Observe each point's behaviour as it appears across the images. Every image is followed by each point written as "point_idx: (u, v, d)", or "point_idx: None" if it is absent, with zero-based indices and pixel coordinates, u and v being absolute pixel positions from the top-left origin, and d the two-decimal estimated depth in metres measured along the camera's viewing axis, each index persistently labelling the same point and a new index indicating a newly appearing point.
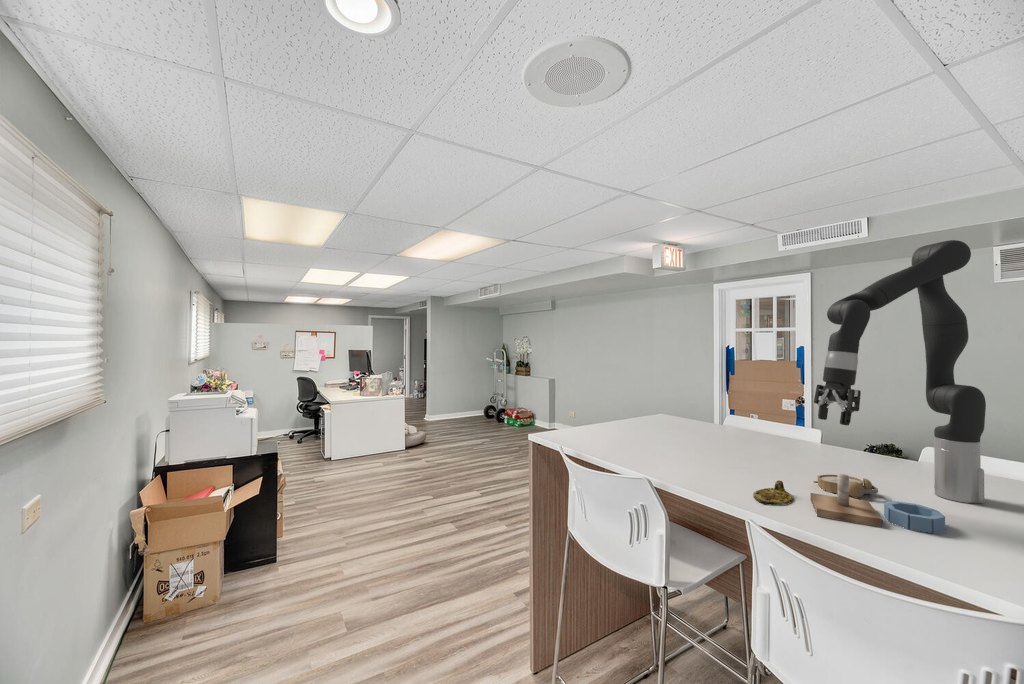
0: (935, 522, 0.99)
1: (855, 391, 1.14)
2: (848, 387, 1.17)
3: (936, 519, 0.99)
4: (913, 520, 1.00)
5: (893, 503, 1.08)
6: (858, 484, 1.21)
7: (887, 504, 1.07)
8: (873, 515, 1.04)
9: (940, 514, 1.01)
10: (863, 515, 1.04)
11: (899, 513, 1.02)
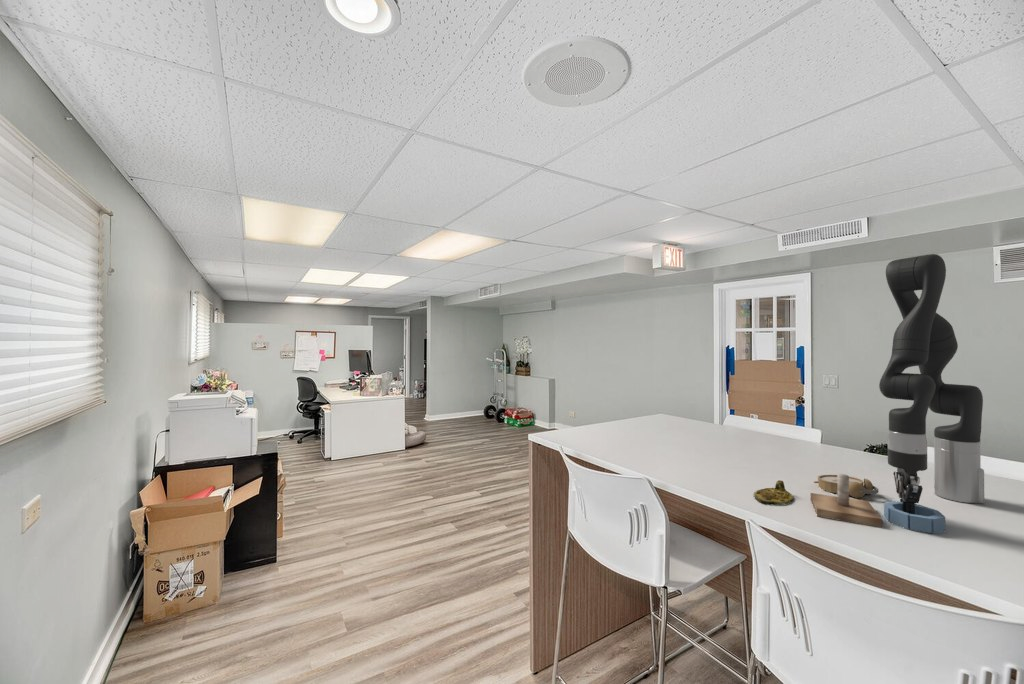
0: (935, 522, 0.98)
1: (914, 488, 1.02)
2: (912, 473, 1.04)
3: (936, 519, 0.99)
4: (913, 520, 1.00)
5: (893, 503, 1.08)
6: (859, 484, 1.21)
7: (887, 504, 1.07)
8: (873, 515, 1.04)
9: (940, 514, 1.01)
10: (863, 515, 1.04)
11: (899, 513, 1.02)
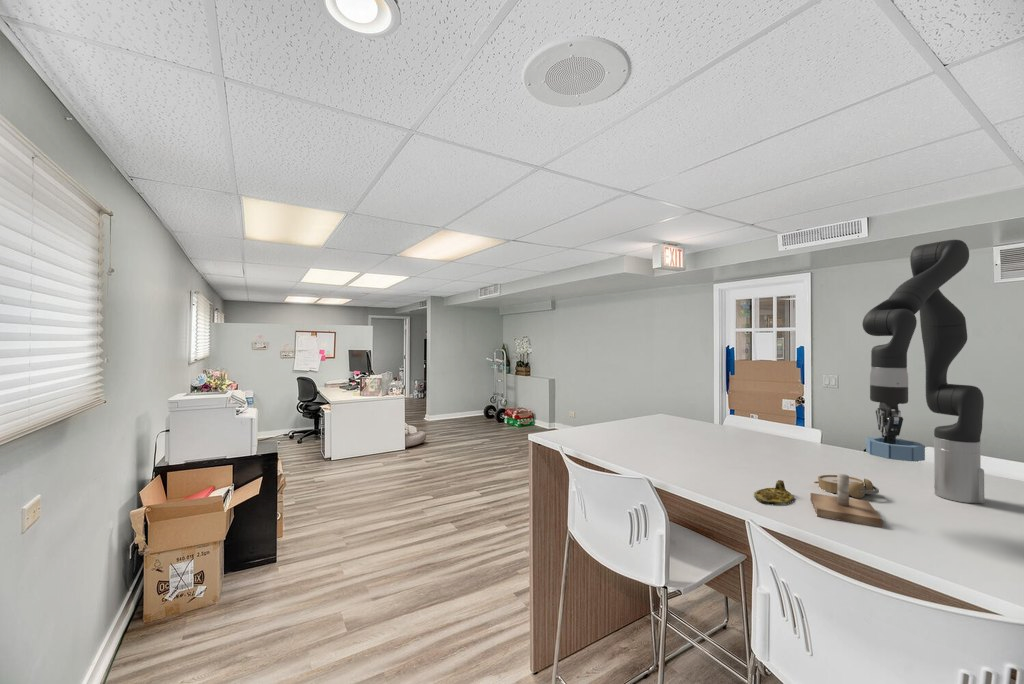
0: (915, 451, 1.00)
1: (895, 420, 1.04)
2: (894, 406, 1.06)
3: (916, 447, 1.00)
4: (894, 449, 1.01)
5: (875, 438, 1.09)
6: (859, 484, 1.21)
7: (869, 438, 1.09)
8: (873, 515, 1.04)
9: (920, 444, 1.02)
10: (863, 515, 1.04)
11: (880, 444, 1.04)
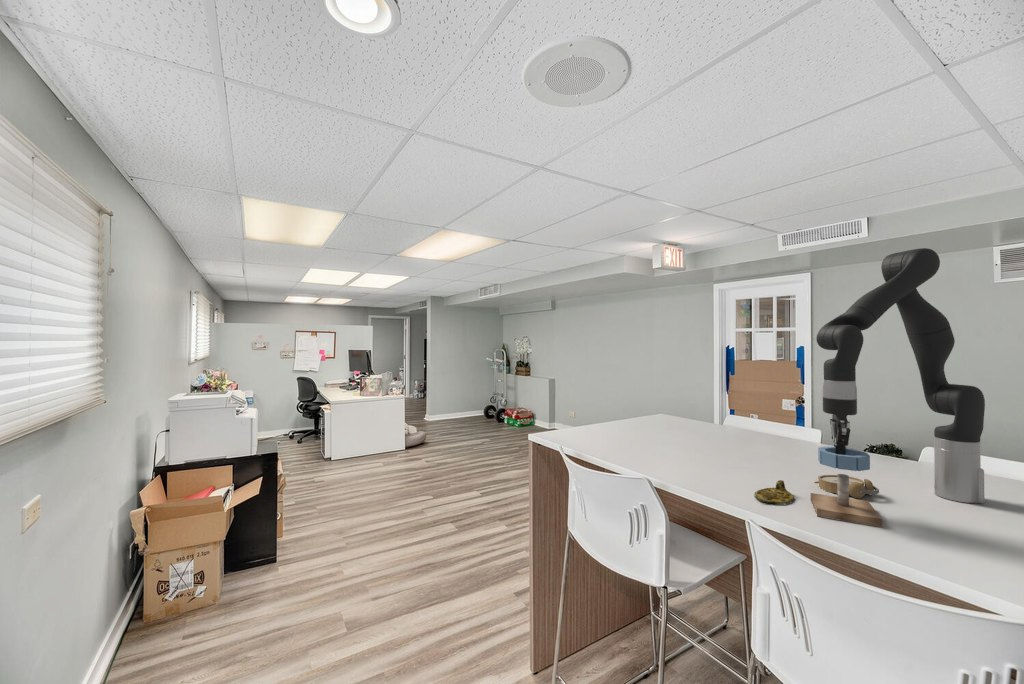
0: (859, 461, 1.05)
1: (843, 431, 1.09)
2: (843, 418, 1.11)
3: (861, 458, 1.06)
4: (840, 459, 1.07)
5: (826, 447, 1.15)
6: (859, 484, 1.20)
7: (820, 448, 1.14)
8: (873, 515, 1.04)
9: (866, 454, 1.08)
10: (863, 515, 1.04)
11: (828, 454, 1.09)
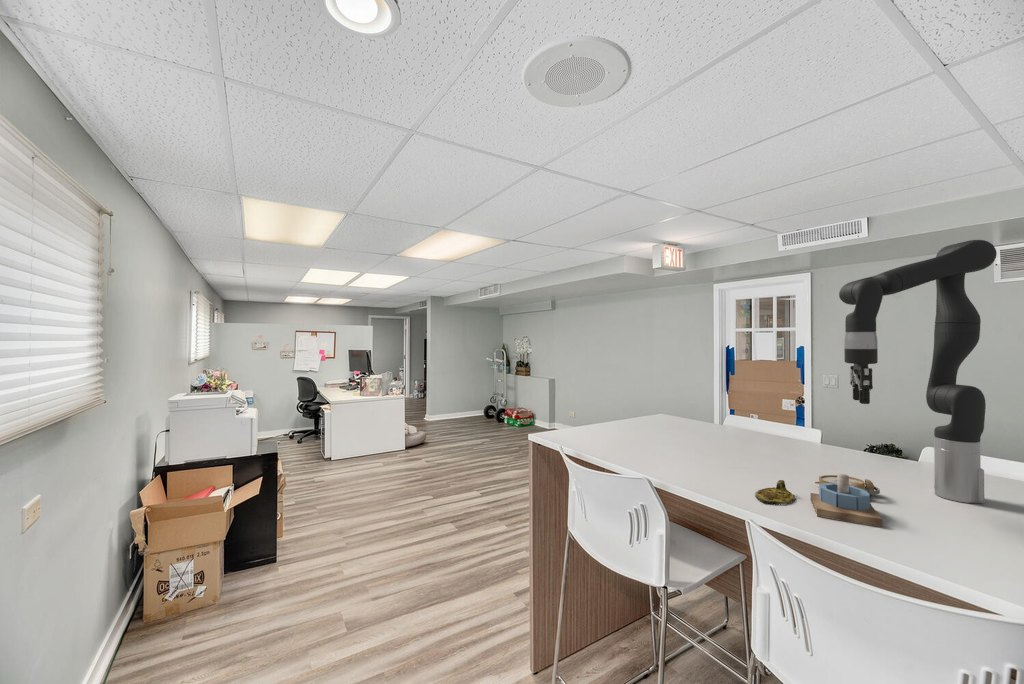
0: (860, 500, 1.07)
1: (865, 370, 1.16)
2: (864, 366, 1.19)
3: (861, 497, 1.07)
4: (840, 498, 1.09)
5: (827, 484, 1.17)
6: (860, 485, 1.20)
7: (821, 485, 1.16)
8: (873, 515, 1.04)
9: (866, 493, 1.10)
10: (863, 515, 1.04)
11: (829, 492, 1.11)
